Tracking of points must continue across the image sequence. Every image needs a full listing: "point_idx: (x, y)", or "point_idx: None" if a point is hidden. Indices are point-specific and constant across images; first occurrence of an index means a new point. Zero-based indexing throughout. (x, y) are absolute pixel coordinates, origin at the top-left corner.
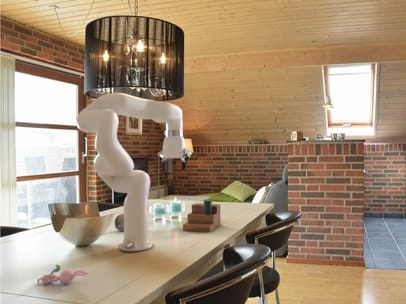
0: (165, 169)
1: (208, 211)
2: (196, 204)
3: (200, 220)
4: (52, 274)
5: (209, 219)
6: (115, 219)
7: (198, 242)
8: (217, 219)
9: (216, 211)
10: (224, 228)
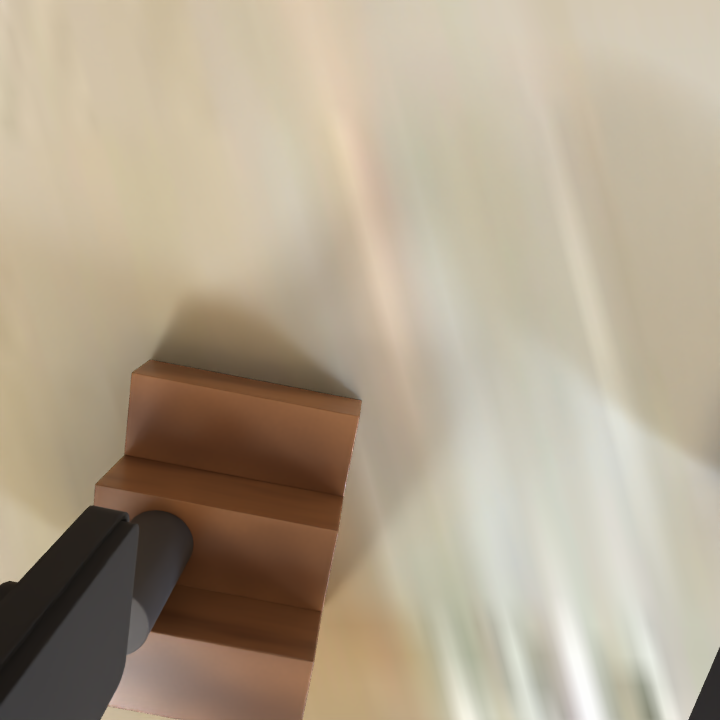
0: (717, 692)
1: None
2: (272, 681)
3: (227, 484)
4: None
5: (144, 474)
6: None
7: (148, 43)
8: None
9: None
10: (72, 472)
